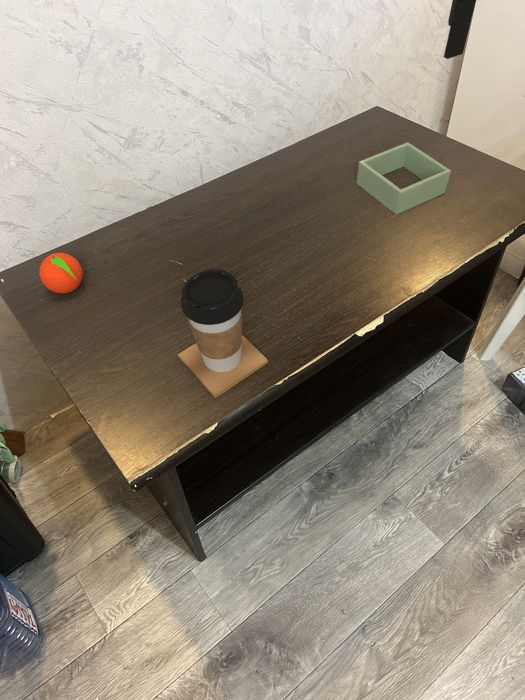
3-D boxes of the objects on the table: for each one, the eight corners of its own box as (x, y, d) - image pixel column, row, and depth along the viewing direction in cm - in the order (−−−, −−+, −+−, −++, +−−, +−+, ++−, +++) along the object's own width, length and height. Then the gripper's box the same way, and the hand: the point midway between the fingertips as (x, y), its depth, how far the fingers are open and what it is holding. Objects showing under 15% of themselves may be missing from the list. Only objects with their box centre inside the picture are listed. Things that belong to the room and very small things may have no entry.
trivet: (268, 362, 77) (268, 359, 76) (215, 398, 73) (214, 395, 73) (229, 325, 82) (229, 322, 81) (178, 357, 78) (177, 354, 78)
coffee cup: (185, 371, 75) (166, 302, 64) (208, 330, 80) (194, 259, 68) (237, 385, 73) (227, 318, 62) (257, 343, 78) (251, 272, 66)
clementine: (100, 286, 89) (87, 256, 83) (69, 310, 86) (53, 280, 80) (71, 268, 92) (57, 238, 86) (40, 291, 89) (23, 260, 83)
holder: (445, 192, 101) (451, 170, 97) (396, 214, 97) (400, 192, 93) (403, 163, 107) (407, 142, 104) (356, 183, 104) (358, 161, 100)
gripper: (722, -155, 41) (597, 104, 58) (491, -181, 55) (444, 34, 71) (664, -141, 39) (552, 124, 56) (438, -172, 53) (403, 48, 69)
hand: (491, 74), depth 64 cm, fingers open, 13 cm apart
